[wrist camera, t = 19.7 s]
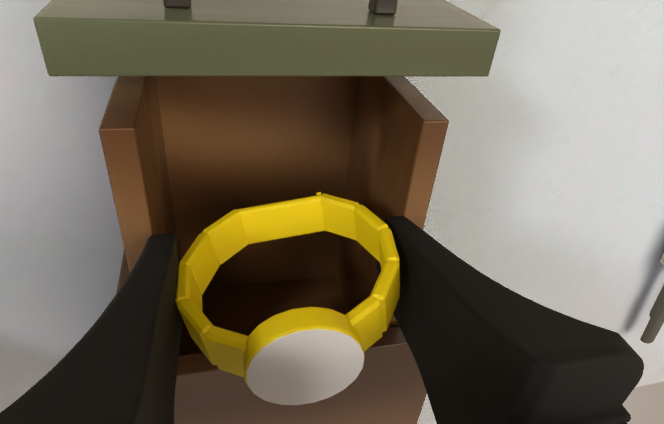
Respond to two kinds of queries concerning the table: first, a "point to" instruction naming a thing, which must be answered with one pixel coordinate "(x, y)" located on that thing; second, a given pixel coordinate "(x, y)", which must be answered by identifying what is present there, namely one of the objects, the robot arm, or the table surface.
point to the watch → (300, 323)
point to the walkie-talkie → (655, 316)
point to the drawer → (266, 126)
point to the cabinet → (313, 418)
